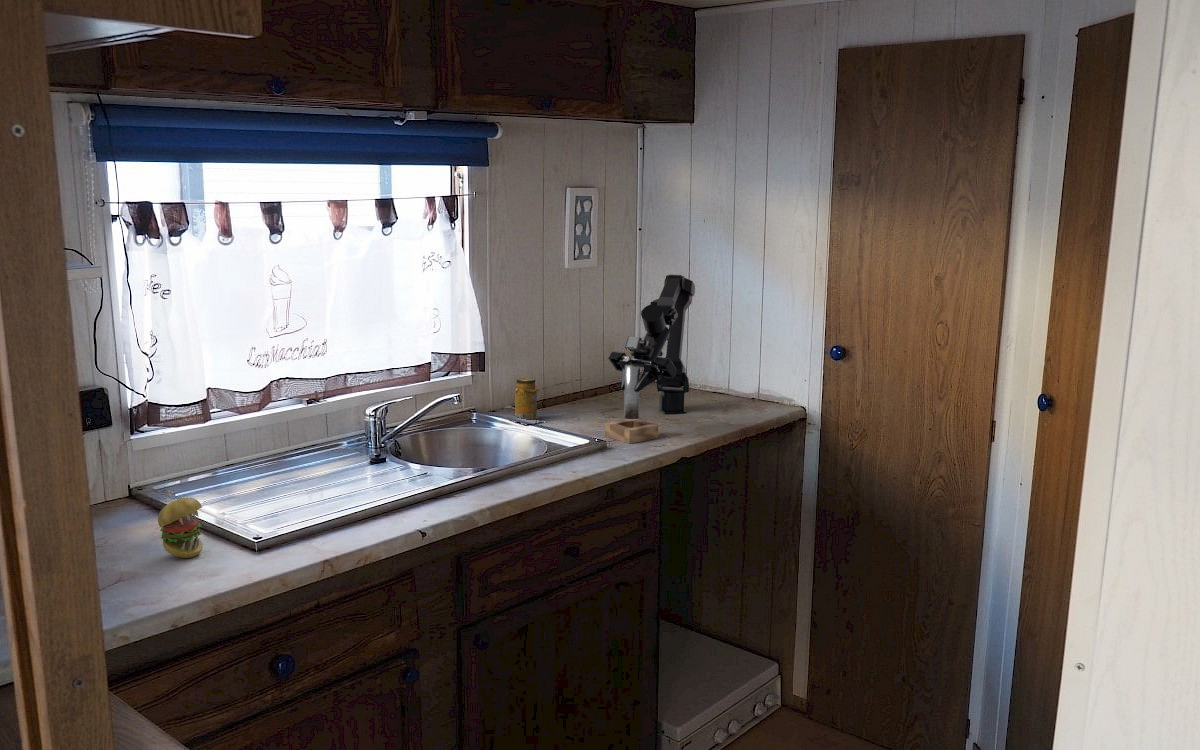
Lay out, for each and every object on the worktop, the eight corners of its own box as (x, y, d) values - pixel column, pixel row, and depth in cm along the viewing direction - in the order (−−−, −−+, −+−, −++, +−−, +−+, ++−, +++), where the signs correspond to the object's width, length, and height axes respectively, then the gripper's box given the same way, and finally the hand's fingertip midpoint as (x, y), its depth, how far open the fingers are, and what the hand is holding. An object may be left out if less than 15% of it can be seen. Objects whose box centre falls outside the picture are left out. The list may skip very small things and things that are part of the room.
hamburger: (188, 564, 179) (184, 498, 176) (151, 561, 180) (146, 495, 178) (213, 549, 186) (209, 485, 184) (177, 546, 187) (172, 483, 185)
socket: (633, 430, 278) (633, 418, 277) (658, 438, 270) (658, 425, 270) (604, 436, 272) (605, 423, 271) (629, 443, 264) (629, 430, 264)
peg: (634, 415, 273) (635, 363, 270) (642, 418, 269) (643, 366, 267) (621, 416, 271) (622, 364, 268) (629, 419, 268) (629, 367, 265)
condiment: (529, 417, 293) (528, 376, 291) (546, 422, 286) (546, 380, 284) (507, 420, 288) (507, 378, 286) (525, 426, 282) (525, 383, 280)
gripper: (612, 321, 274) (587, 367, 267) (671, 327, 263) (647, 376, 257) (629, 346, 282) (605, 392, 275) (687, 354, 271) (663, 401, 264)
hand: (629, 390), depth 268 cm, fingers closed on peg, 4 cm apart
